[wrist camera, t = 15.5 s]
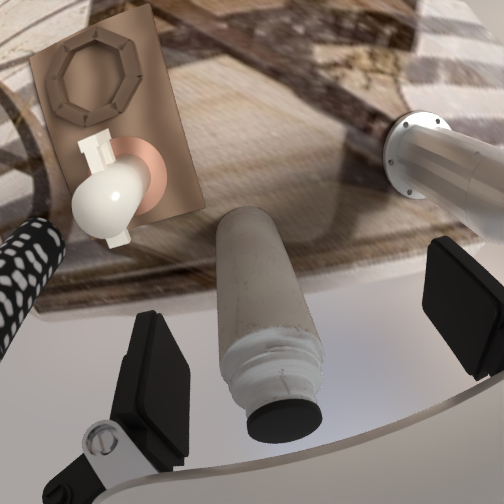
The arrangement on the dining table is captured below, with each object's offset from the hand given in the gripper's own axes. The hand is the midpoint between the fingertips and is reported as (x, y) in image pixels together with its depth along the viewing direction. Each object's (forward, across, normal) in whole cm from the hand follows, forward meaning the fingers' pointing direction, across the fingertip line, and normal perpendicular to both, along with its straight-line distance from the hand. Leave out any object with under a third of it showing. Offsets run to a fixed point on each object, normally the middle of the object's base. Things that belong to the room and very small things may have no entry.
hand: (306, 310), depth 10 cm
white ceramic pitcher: (+29, +14, -1) cm, 32 cm away
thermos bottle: (+31, +2, +12) cm, 33 cm away
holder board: (+30, +14, -6) cm, 34 cm away
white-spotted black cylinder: (+31, +31, +5) cm, 44 cm away
